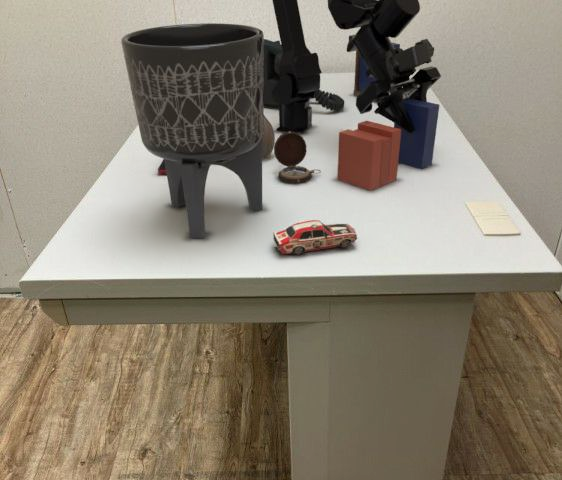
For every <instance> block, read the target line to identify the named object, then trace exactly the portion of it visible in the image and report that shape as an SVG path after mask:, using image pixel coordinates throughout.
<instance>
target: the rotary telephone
mask: <svg viewBox="0 0 562 480" xmlns="http://www.w3.org/2000/svg"><path fill="white" fill-rule="evenodd" d="M282 53H283V51H282V45H281V40H275V41H273V40H270V39H267V38H264V108H268V109H274V110H275V109H276V110H279V103H276V102H274V101H273V98H272V94H271V91H272V90H273V88H274V87H275V86H276V84H277V83H278V81H279V80H280V74H279V65H280V61H281V57H282ZM314 100H315V102H317V103H318V105H320V106H322V108H325V109H326V111H327V110H330V111H331V112H332V111H334V112H336V111H337V112H338V111H340V110H342V109H344V107H345V99H343V98H342V97H341V96H339V94H335V93H332V92H329V91H325V90H321V83H320V84H319V85H318V88H317V91H316V95H315V98H314Z"/></svg>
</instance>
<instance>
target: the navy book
mask: <svg viewBox="0 0 562 480" xmlns="http://www.w3.org/2000/svg"><path fill="white" fill-rule="evenodd" d="M403 103H404V105H405V107H406V110H407V112H408V114H409V116H410V118H411V120H412V122H413V125H414V128H415V131H414V132H413V133H409V132H408V131H406V130H404V129H403V128H401V127H400V126H398V125H397V124H395V123H394V122H393V127H394V128H398V129H401V137H400V148H399V159H398V164H402V165H405V166H410V167H413V168H415V169H420V170H424V169H426V168H428V167H430V166H432V165H433V160H434V159H433V157H434V151H435V143H436V135H437V127H438V119H439V113H440V104H438V103H434V102H428V101H427V102H425V101H420V100H415V99H410V98H404V99H403Z"/></svg>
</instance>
